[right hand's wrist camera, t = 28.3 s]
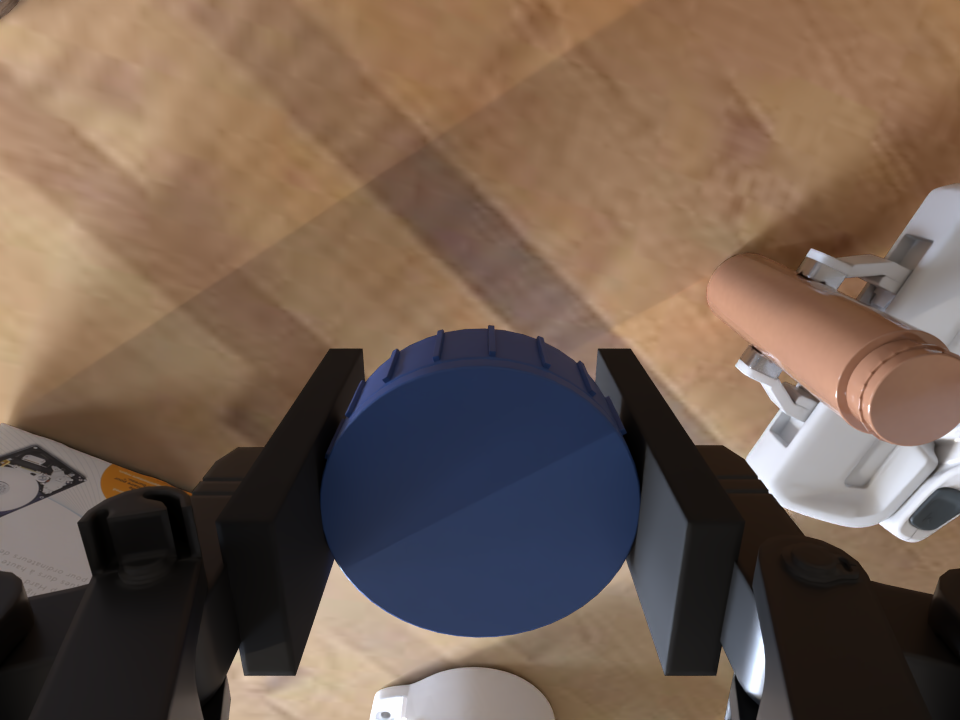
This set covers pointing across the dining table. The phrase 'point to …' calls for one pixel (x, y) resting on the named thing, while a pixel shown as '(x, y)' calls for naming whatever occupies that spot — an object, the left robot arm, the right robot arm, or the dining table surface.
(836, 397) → the jar
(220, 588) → the right robot arm
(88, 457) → the hard drive box
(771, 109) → the dining table surface
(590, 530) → the lid
